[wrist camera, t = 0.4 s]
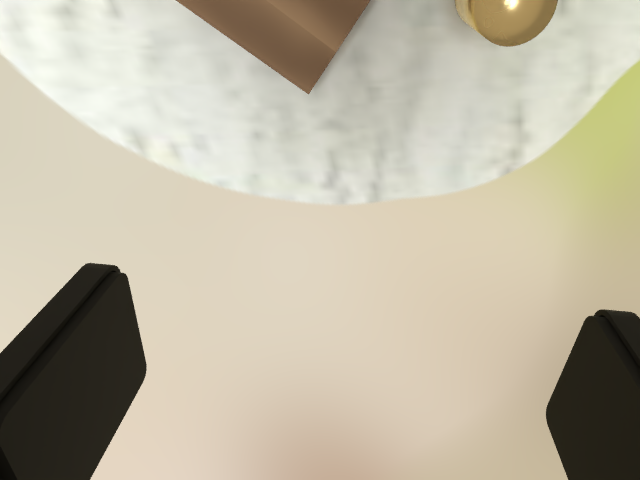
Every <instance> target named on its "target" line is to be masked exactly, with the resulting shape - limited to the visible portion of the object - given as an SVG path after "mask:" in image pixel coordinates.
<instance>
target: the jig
mask: <svg viewBox="0 0 640 480" xmlns="http://www.w3.org/2000/svg"><path fill="white" fill-rule="evenodd" d="M176 1H178V2H179V3H180V4H182V5H183V6H185V7H186V8H188V9H189V10H190V11H192V12H193V13H195V14H196V15H197V16H199V17H200V18H202V19H203V20H204V21H206V22H207V23H209V24H210V25H211V26H213V27H214V28H216V29H217V30H219V31H220V32H221V33H223V34H224V35H226V36H227V37H228V38H230V39H231V40H233V41H234V42H235V43H237V44H238V45H240V46H241V47H243V48H244V49H245V50H247V51H248V52H250V53H251V54H252V55H254V56H255V57H257V58H258V59H259V60H261V61H262V62H264V63H265V64H266V65H268V66H269V67H271V68H272V69H274V70H275V71H276V72H278V73H279V74H281V75H282V76H283V77H285V78H286V79H288V80H289V81H290V82H292V83H293V84H295V85H296V86H298V87H299V88H300V89H302V90H303V91H305V92H306V93H307V94H309V93H310V91H311V90H312V88H313V87H314V85H315V84H316V82H317V81H318V79H319V78H320V76H321V75H322V73H323V71H324V70H325V68H326V67H327V65H328V64H329V62H330V61H331V59H332V58H333V56H334V55H335V53H336V52H337V50H338V49H339V47H340V46H341V44H342V43H343V41H344V39H345V38H346V36H347V35H348V33H349V32H350V30H351V29H352V27H353V26H354V24H355V23H356V21H357V20H358V18H359V17H360V15H361V14H362V12H363V11H364V9H365V7H366V6H367V4H368V3H369V1H370V0H176Z"/></svg>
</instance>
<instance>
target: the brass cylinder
mask: <svg viewBox="0 0 640 480" xmlns="http://www.w3.org/2000/svg"><path fill="white" fill-rule="evenodd" d="M557 2H558V0H455V5H456V9H457V12H458V14H459V16H460V17H461V19H462V20H463V21H464V22H465V23H467V24H468V25H469V26H470V27H472V28H473V29H474V30H476V31H477V32H478V33H480V34H481V35H482V36H484V37H485V38H486V39H487V40H489V41H490V42H492V43H494V44H497V45H500V46H516V45H520V44H523V43H526V42H528V41H530V40H531V39H533V38H534V37H536V36H537V35H538V34H539V33H540V32H541V31H542V30H543V29H544V28H545V27H546V26H547V25H548V23H549V22H550V20H551V18H552V16H553V14H554V12H555V9H556V6H557Z"/></svg>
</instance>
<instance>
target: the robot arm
mask: <svg viewBox="0 0 640 480" xmlns="http://www.w3.org/2000/svg"><path fill="white" fill-rule="evenodd" d="M145 374H146V361H145V356H144V351H143V346H142V342H141V337H140V332H139V328H138V323H137V318H136V314H135V309H134V304H133V300H132V295H131V291H130V287H129V281H128V278H127V276H126V274H124V273H121V272H120V269H118V267H117V266H115V265H106V264H95V263H88V264H85V265H84V266H83V267H82V268H81V269H80V270H79V271H78V272H77V273H76V274H75V275H74V276H73V277H72V278H71V279H70V280H69V281H68V283H66V284H65V286H64V287H63V288H62V289H61V290H60V291H59V292H58V293H57V294H56V295H55V296H54V297H53V298H52V299H51V300H50V301H49V302H48V303H47V305H46V306H45V307H44V308H43V309H42V310H41V311H40V312H39V313H38V314H37V315H36V316H35V317H34V318H33V319H32V320H31V322H30V323H29V324H28V325H27V326H26V327H25V328H24V329H23V330H22V331H21V332H20V333H19V334H18V335H17V336H16V337H15V338H14V340H13V341H12V342H11V343H10V344H9V345H8V346H7V347H6V348H5V349H4V350H3V351H2V352H1V353H0V480H90V479H91V477H92V475H93V473H94V471H95V469H96V468H97V466H98V464H99V462H100V460H101V458H102V456H103V455H104V453H105V451H106V449H107V447H108V445H109V444H110V442H111V440H112V438H113V436H114V434H115V433H116V431H117V429H118V427H119V425H120V423H121V422H122V420H123V418H124V416H125V414H126V412H127V410H128V409H129V407H130V405H131V403H132V401H133V399H134V398H135V396H136V394H137V392H138V390H139V388H140V386H141V385H142V383H143V381H144V378H145ZM546 419H547V424H548V427H549V430H550V432H551V435H552V438H553V440H554V443H555V445H556V448H557V451H558V453H559V456H560V459H561V461H562V464H563V467H564V469H565V472H566V475H567V477H568V480H640V318H639V317H638V316H637V315H636V314H635V313H632V312H625V311H613V310H599V311H597V312H596V313H595V315H594V316H588V317H587V318H586V319H585V321H584V323H583V326H582V328H581V330H580V333H579V335H578V337H577V339H576V342H575V344H574V346H573V348H572V350H571V353H570V355H569V357H568V360H567V362H566V364H565V366H564V369H563V371H562V373H561V376H560V378H559V380H558V382H557V385H556V387H555V389H554V392H553V394H552V396H551V398H550V401H549V403H548V405H547V409H546Z"/></svg>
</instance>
